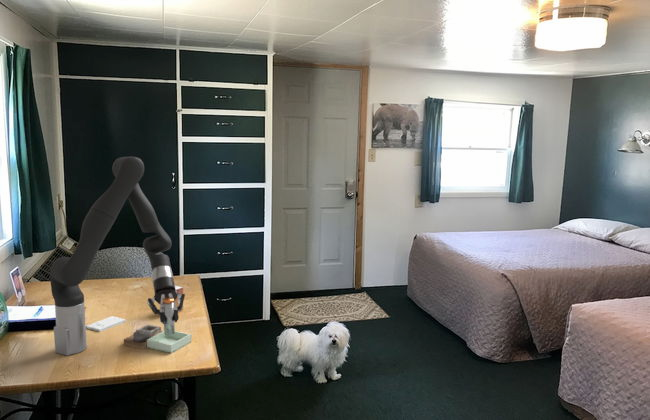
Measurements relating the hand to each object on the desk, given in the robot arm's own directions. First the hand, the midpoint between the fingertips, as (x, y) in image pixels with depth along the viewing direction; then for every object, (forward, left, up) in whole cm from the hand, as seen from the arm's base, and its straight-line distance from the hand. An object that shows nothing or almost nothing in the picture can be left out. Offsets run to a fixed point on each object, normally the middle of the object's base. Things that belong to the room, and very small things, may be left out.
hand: (170, 322), depth 183 cm
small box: (+29, +24, -10) cm, 39 cm away
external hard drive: (+6, +37, -10) cm, 39 cm away
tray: (+1, +2, -9) cm, 10 cm away
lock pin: (+1, +2, -5) cm, 5 cm away
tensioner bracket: (0, +12, -9) cm, 15 cm away
